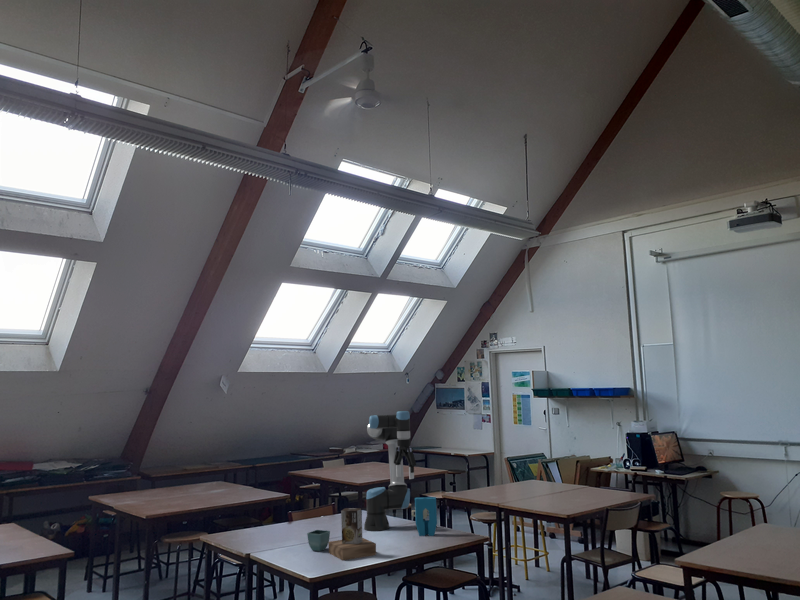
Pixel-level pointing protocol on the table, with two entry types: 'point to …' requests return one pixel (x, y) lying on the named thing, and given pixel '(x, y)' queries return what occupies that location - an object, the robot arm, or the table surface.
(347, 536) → the coffee box
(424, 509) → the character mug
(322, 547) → the flower pot
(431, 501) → the block
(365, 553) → the walnut block
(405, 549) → the table surface
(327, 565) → the table surface
